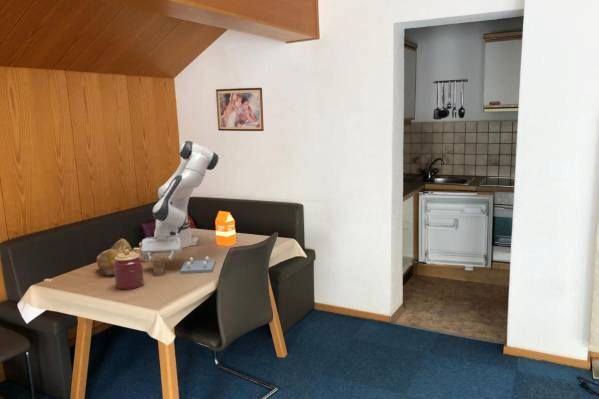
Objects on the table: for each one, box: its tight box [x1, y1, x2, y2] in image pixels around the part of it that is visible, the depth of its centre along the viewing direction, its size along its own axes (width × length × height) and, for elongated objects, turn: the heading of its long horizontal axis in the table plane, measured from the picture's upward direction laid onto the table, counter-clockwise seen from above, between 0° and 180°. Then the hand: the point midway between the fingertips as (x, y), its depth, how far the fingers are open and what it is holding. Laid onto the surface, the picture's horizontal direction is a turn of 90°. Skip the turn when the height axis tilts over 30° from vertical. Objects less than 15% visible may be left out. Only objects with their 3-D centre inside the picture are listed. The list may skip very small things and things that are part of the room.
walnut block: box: [152, 256, 166, 277], centre depth 255 cm, size 4×4×8 cm
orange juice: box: [214, 210, 237, 247], centre depth 306 cm, size 8×9×20 cm
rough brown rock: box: [96, 237, 134, 276], centre depth 265 cm, size 23×17×15 cm
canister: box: [113, 249, 145, 290], centre depth 240 cm, size 13×13×18 cm
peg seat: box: [179, 255, 217, 275], centre depth 263 cm, size 16×16×4 cm
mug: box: [138, 241, 159, 262], centre depth 282 cm, size 8×13×10 cm, turn 137°
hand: (160, 260), depth 257 cm, fingers open, 8 cm apart
